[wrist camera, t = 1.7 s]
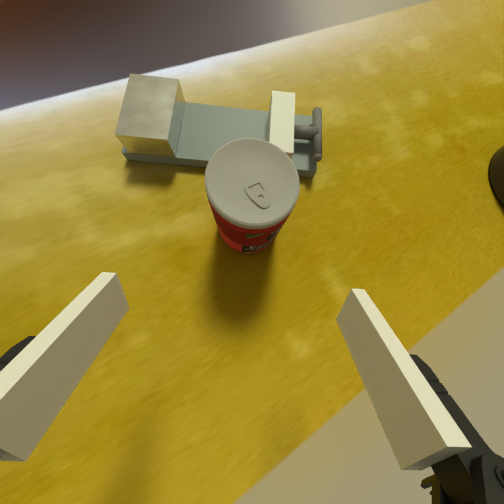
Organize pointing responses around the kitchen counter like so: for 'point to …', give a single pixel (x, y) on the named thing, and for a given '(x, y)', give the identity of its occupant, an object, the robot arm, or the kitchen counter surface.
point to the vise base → (246, 133)
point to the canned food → (251, 192)
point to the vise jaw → (151, 115)
